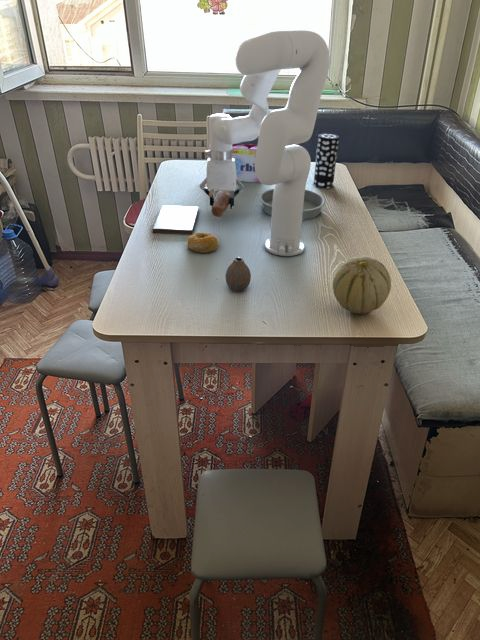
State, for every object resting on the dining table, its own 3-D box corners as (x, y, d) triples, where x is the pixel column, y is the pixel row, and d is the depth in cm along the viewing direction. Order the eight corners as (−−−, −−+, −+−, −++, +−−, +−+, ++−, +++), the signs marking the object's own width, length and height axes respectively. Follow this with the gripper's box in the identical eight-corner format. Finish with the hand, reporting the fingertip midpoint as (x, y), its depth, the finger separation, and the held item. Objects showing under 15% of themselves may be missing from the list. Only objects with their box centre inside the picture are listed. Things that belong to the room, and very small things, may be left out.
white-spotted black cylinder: (309, 183, 226) (314, 134, 214) (326, 181, 229) (332, 133, 217) (319, 189, 220) (325, 139, 208) (336, 187, 223) (343, 137, 211)
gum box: (266, 177, 230) (267, 145, 222) (265, 183, 223) (267, 149, 215) (211, 174, 230) (211, 141, 222) (209, 179, 223) (208, 146, 215)
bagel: (223, 243, 171) (223, 229, 168) (211, 256, 162) (211, 242, 159) (194, 238, 173) (194, 224, 170) (181, 252, 164) (181, 237, 161)
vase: (237, 280, 150) (237, 251, 145) (255, 288, 147) (256, 259, 142) (220, 288, 146) (220, 259, 141) (239, 296, 142) (239, 267, 137)
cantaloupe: (378, 296, 146) (388, 245, 138) (391, 324, 134) (403, 271, 126) (326, 294, 145) (332, 244, 137) (333, 323, 133) (341, 269, 125)
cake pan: (249, 215, 192) (250, 203, 189) (270, 195, 211) (271, 183, 208) (315, 226, 186) (316, 214, 183) (330, 204, 205) (332, 193, 202)
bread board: (192, 234, 175) (191, 230, 174) (152, 232, 175) (152, 228, 174) (198, 210, 193) (198, 206, 192) (162, 209, 193) (162, 205, 192)
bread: (235, 201, 194) (235, 186, 191) (223, 219, 178) (223, 202, 175) (218, 200, 194) (218, 184, 191) (205, 217, 179) (204, 201, 176)
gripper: (194, 156, 173) (196, 210, 183) (246, 158, 173) (246, 212, 183) (196, 151, 179) (198, 203, 189) (247, 152, 179) (246, 204, 189)
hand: (222, 207), depth 186 cm, fingers closed on bread, 5 cm apart
